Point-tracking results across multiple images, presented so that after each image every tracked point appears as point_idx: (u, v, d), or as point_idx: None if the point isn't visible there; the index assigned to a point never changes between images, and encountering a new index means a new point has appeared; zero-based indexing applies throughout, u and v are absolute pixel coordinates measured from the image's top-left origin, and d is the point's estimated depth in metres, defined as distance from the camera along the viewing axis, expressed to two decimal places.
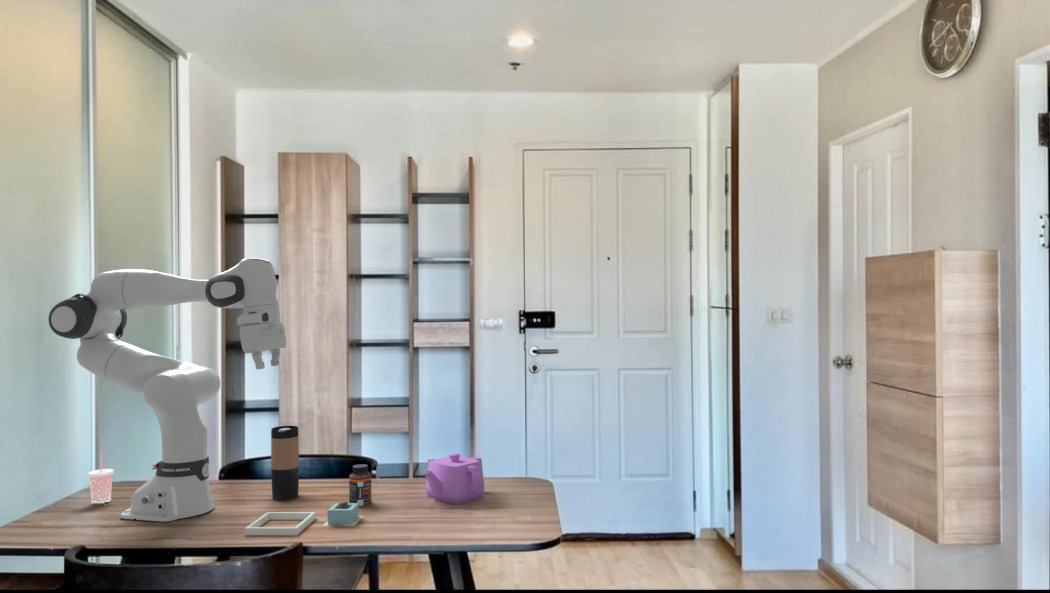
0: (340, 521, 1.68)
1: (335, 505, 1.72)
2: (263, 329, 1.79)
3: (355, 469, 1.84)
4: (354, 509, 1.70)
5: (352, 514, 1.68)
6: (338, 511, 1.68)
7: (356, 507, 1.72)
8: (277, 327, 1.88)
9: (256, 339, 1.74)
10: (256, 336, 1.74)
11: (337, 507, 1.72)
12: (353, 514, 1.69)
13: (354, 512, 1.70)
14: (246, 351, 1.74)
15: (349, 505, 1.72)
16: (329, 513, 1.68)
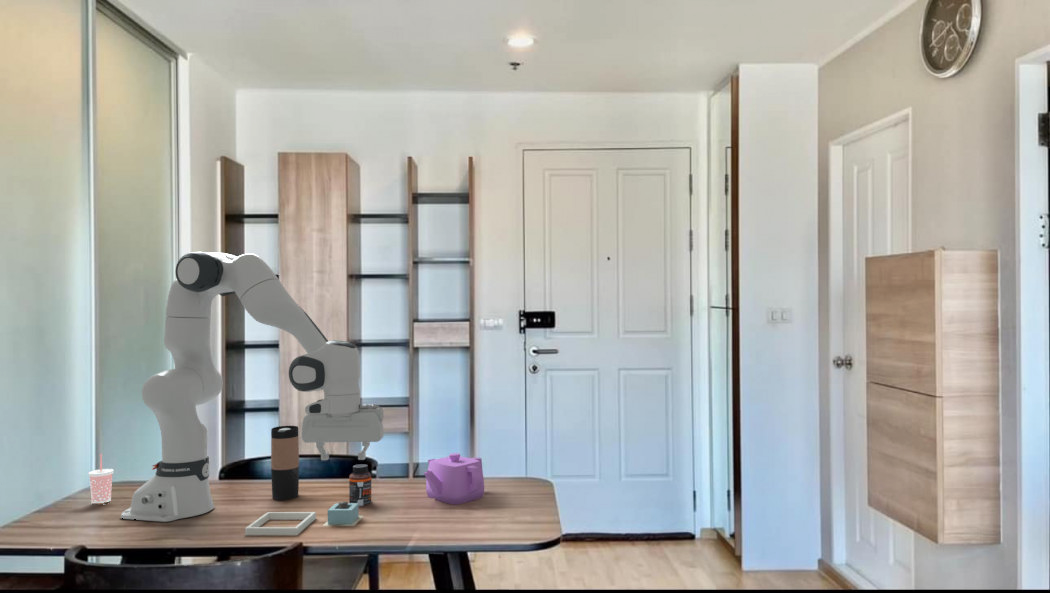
0: (340, 521, 1.68)
1: (335, 505, 1.72)
2: (323, 419, 1.69)
3: (355, 469, 1.84)
4: (354, 509, 1.70)
5: (352, 514, 1.68)
6: (338, 511, 1.68)
7: (356, 507, 1.72)
8: (359, 418, 1.69)
9: (302, 430, 1.69)
10: (302, 427, 1.69)
11: (337, 507, 1.72)
12: (353, 514, 1.69)
13: (354, 512, 1.70)
14: None
15: (349, 505, 1.72)
16: (329, 513, 1.68)
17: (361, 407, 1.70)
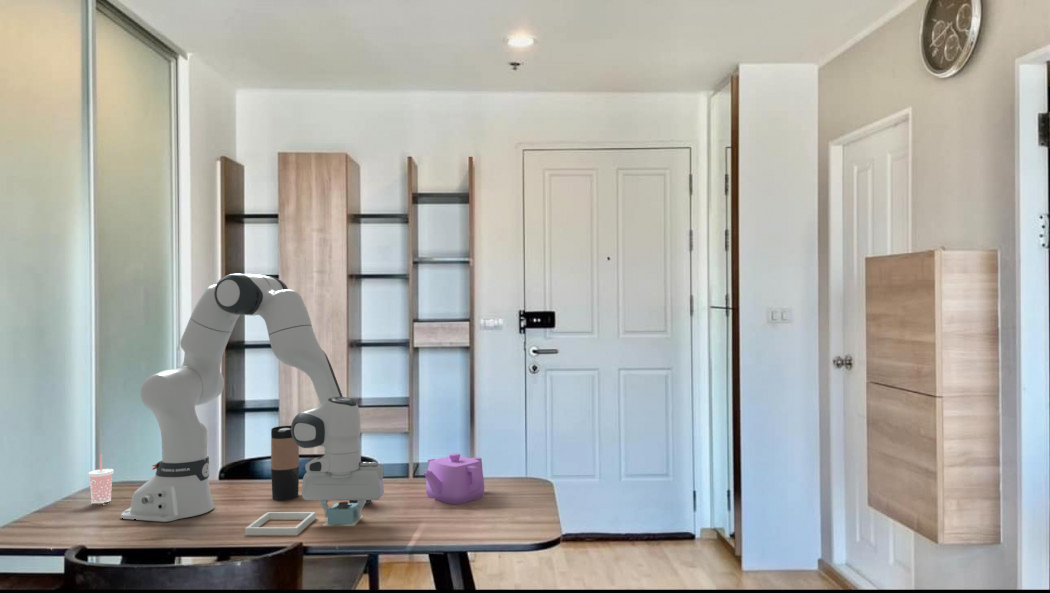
0: (340, 521, 1.68)
1: (335, 505, 1.72)
2: (323, 477, 1.69)
3: None
4: (354, 509, 1.70)
5: (352, 514, 1.68)
6: (338, 511, 1.68)
7: (356, 507, 1.72)
8: (360, 476, 1.69)
9: (302, 487, 1.69)
10: (302, 484, 1.69)
11: (337, 507, 1.72)
12: (353, 514, 1.69)
13: None
14: None
15: (349, 505, 1.72)
16: (329, 513, 1.68)
17: (361, 465, 1.70)
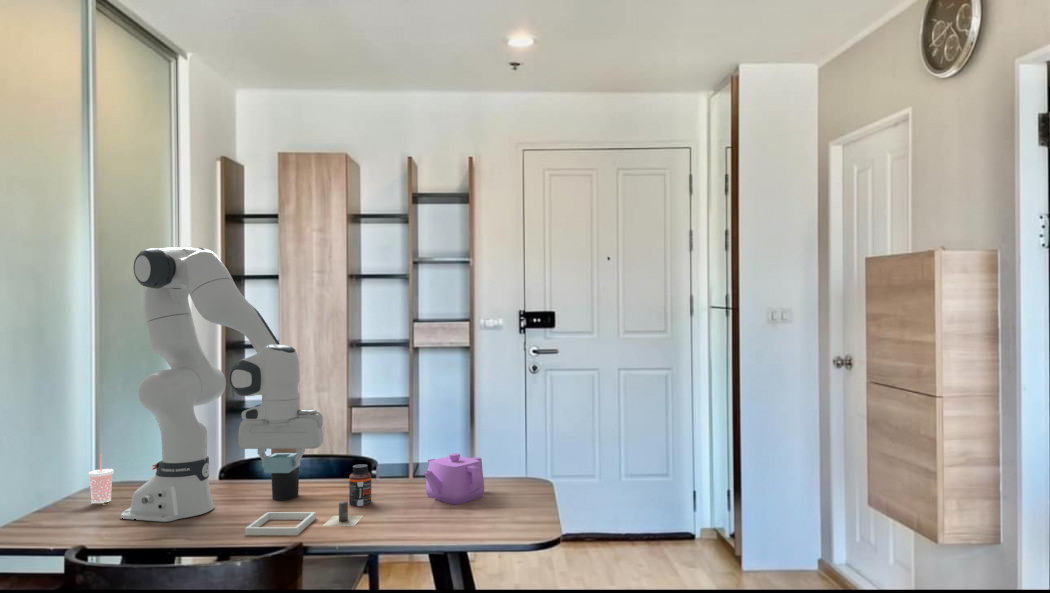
0: (277, 470, 1.64)
1: (273, 454, 1.68)
2: (260, 425, 1.65)
3: (355, 469, 1.84)
4: (292, 458, 1.66)
5: (289, 463, 1.65)
6: (275, 459, 1.64)
7: (295, 456, 1.68)
8: (297, 424, 1.65)
9: (239, 436, 1.65)
10: (239, 433, 1.65)
11: (275, 456, 1.68)
12: (290, 463, 1.65)
13: None
14: None
15: (288, 455, 1.69)
16: (265, 461, 1.64)
17: (300, 413, 1.66)
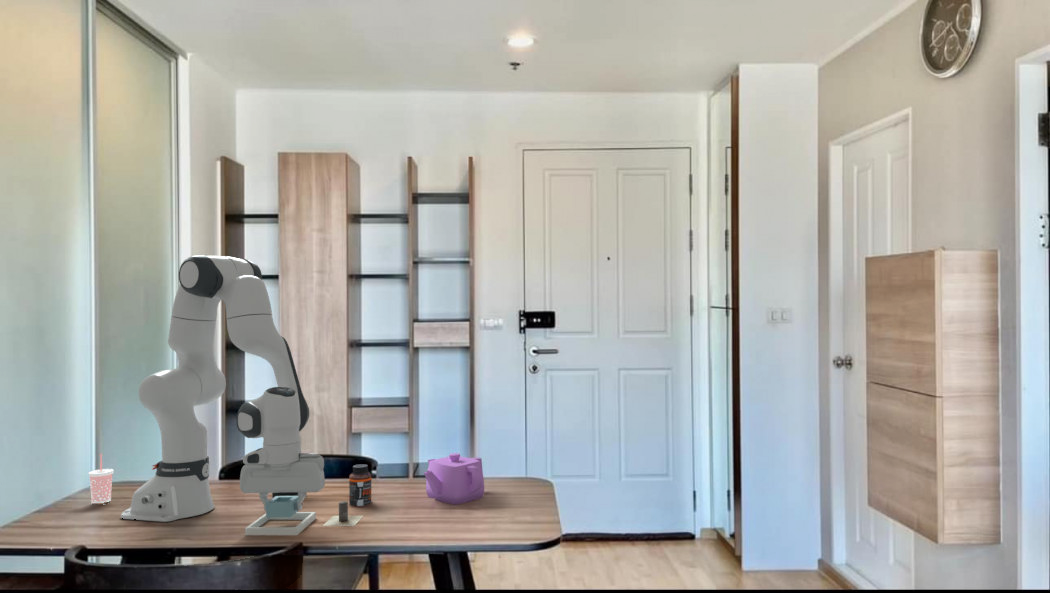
0: (279, 514, 1.64)
1: (275, 497, 1.68)
2: (262, 469, 1.65)
3: (355, 469, 1.84)
4: (294, 501, 1.66)
5: (291, 506, 1.64)
6: (277, 504, 1.64)
7: (296, 500, 1.68)
8: (299, 468, 1.65)
9: (240, 480, 1.65)
10: (240, 477, 1.65)
11: (277, 500, 1.68)
12: (292, 506, 1.65)
13: None
14: None
15: (289, 498, 1.69)
16: (267, 506, 1.64)
17: (301, 456, 1.66)
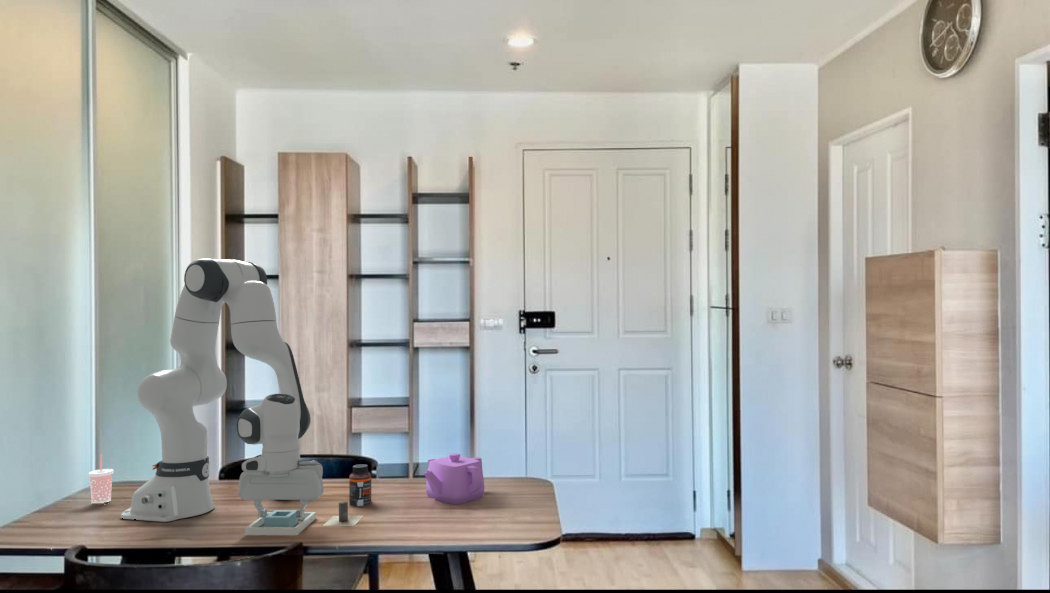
0: None
1: (273, 512, 1.68)
2: (260, 476, 1.65)
3: (355, 469, 1.84)
4: (292, 516, 1.66)
5: (289, 521, 1.64)
6: (275, 518, 1.64)
7: (295, 514, 1.68)
8: (298, 475, 1.65)
9: (239, 487, 1.65)
10: (239, 484, 1.65)
11: (275, 514, 1.68)
12: (290, 521, 1.65)
13: (292, 519, 1.66)
14: None
15: (288, 512, 1.68)
16: (266, 520, 1.64)
17: (300, 464, 1.66)
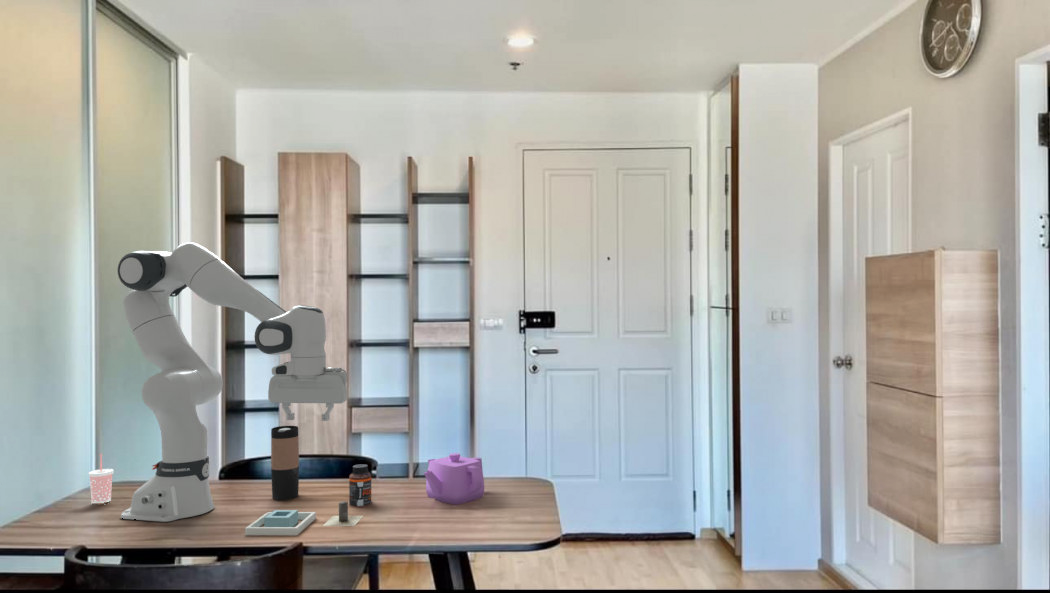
0: None
1: (273, 512, 1.68)
2: (289, 381, 1.76)
3: (355, 469, 1.84)
4: (292, 516, 1.66)
5: (289, 521, 1.64)
6: (275, 518, 1.64)
7: (295, 514, 1.68)
8: (323, 380, 1.75)
9: (269, 390, 1.76)
10: (269, 387, 1.76)
11: (275, 514, 1.68)
12: (290, 521, 1.65)
13: (292, 519, 1.66)
14: None
15: (288, 512, 1.68)
16: (266, 520, 1.64)
17: (326, 370, 1.77)
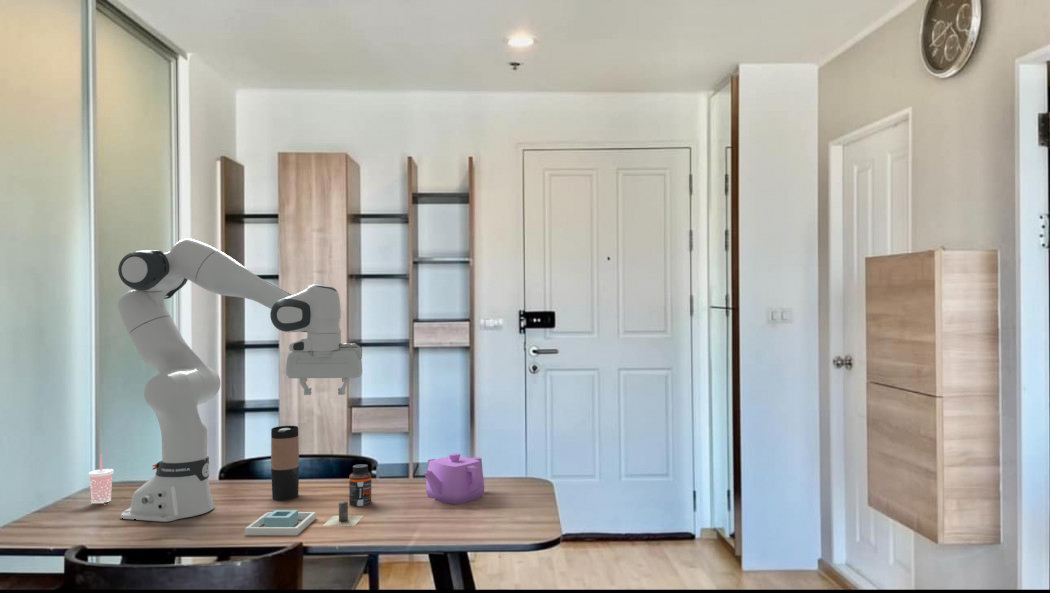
0: None
1: (273, 512, 1.68)
2: (306, 357, 1.83)
3: (355, 469, 1.84)
4: (292, 516, 1.66)
5: (289, 521, 1.64)
6: (275, 518, 1.64)
7: (295, 514, 1.68)
8: (339, 355, 1.83)
9: (286, 366, 1.83)
10: (287, 363, 1.83)
11: (275, 514, 1.68)
12: (290, 521, 1.65)
13: (292, 519, 1.66)
14: None
15: (288, 512, 1.68)
16: (266, 520, 1.64)
17: (341, 346, 1.84)
